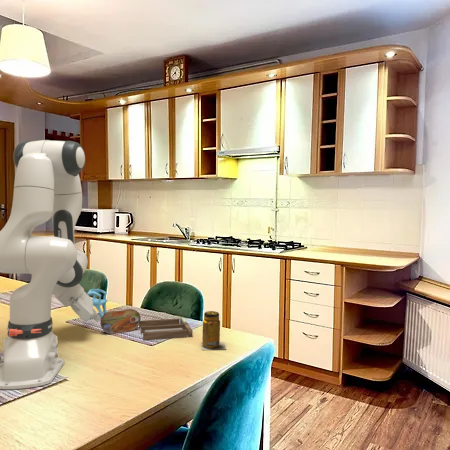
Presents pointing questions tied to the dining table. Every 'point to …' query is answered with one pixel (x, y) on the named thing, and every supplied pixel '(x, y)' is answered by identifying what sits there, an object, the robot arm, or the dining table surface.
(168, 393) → the dining table surface
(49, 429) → the dining table surface
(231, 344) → the dining table surface
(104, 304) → the chair
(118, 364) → the dining table surface
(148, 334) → the wooden slotted tray
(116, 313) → the tin
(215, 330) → the condiment
